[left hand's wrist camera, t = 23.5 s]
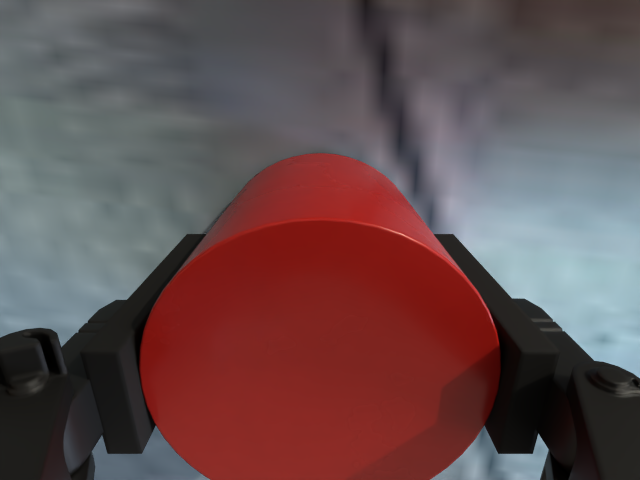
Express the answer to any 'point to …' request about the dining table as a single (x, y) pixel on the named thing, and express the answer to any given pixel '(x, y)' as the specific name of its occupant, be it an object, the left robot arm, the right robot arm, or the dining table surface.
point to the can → (320, 336)
